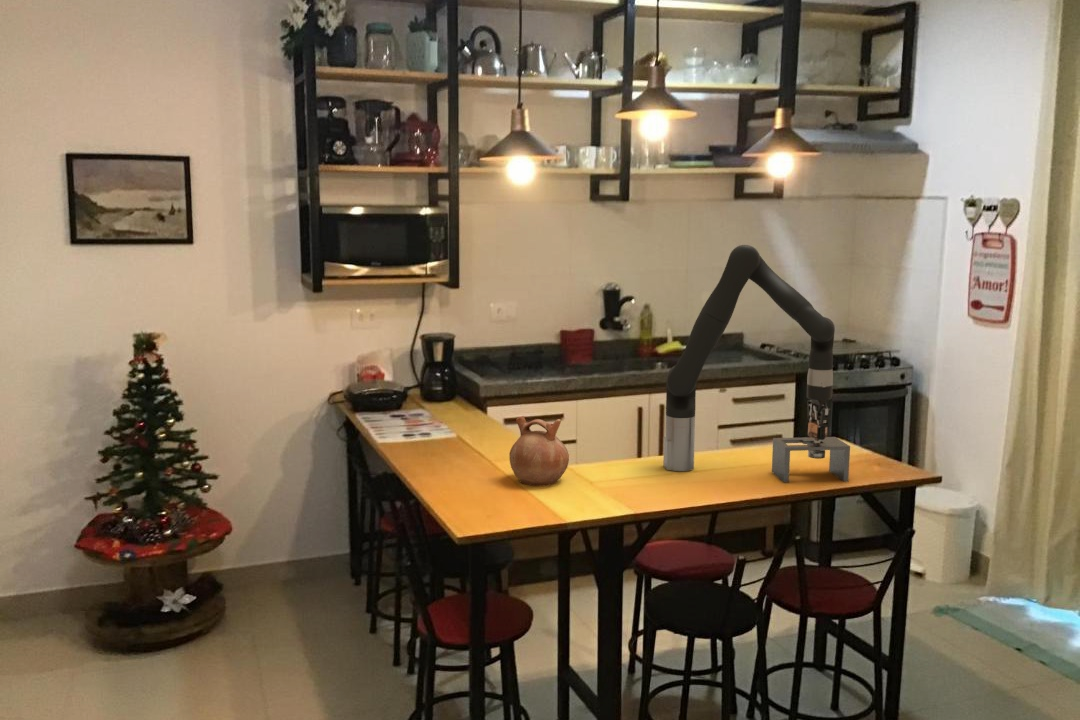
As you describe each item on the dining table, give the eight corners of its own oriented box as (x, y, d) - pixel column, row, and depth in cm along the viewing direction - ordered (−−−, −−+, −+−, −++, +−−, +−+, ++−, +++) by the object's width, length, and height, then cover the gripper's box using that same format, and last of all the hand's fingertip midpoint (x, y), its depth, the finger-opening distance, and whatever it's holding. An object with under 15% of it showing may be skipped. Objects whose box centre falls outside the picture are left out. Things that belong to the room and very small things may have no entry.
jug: (579, 477, 298) (580, 414, 295) (550, 492, 282) (550, 426, 279) (528, 469, 307) (528, 408, 304) (497, 483, 292) (497, 419, 288)
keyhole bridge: (783, 482, 292) (785, 447, 290) (771, 472, 303) (773, 438, 302) (848, 481, 293) (850, 446, 291) (833, 470, 305) (835, 436, 303)
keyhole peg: (810, 459, 294) (812, 425, 293) (804, 454, 300) (805, 421, 298) (828, 458, 295) (830, 425, 293) (822, 454, 300) (823, 421, 299)
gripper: (799, 379, 300) (797, 431, 303) (816, 387, 286) (813, 443, 289) (823, 378, 301) (820, 431, 304) (840, 387, 287) (837, 442, 290)
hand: (817, 436), depth 296 cm, fingers closed on keyhole peg, 5 cm apart
